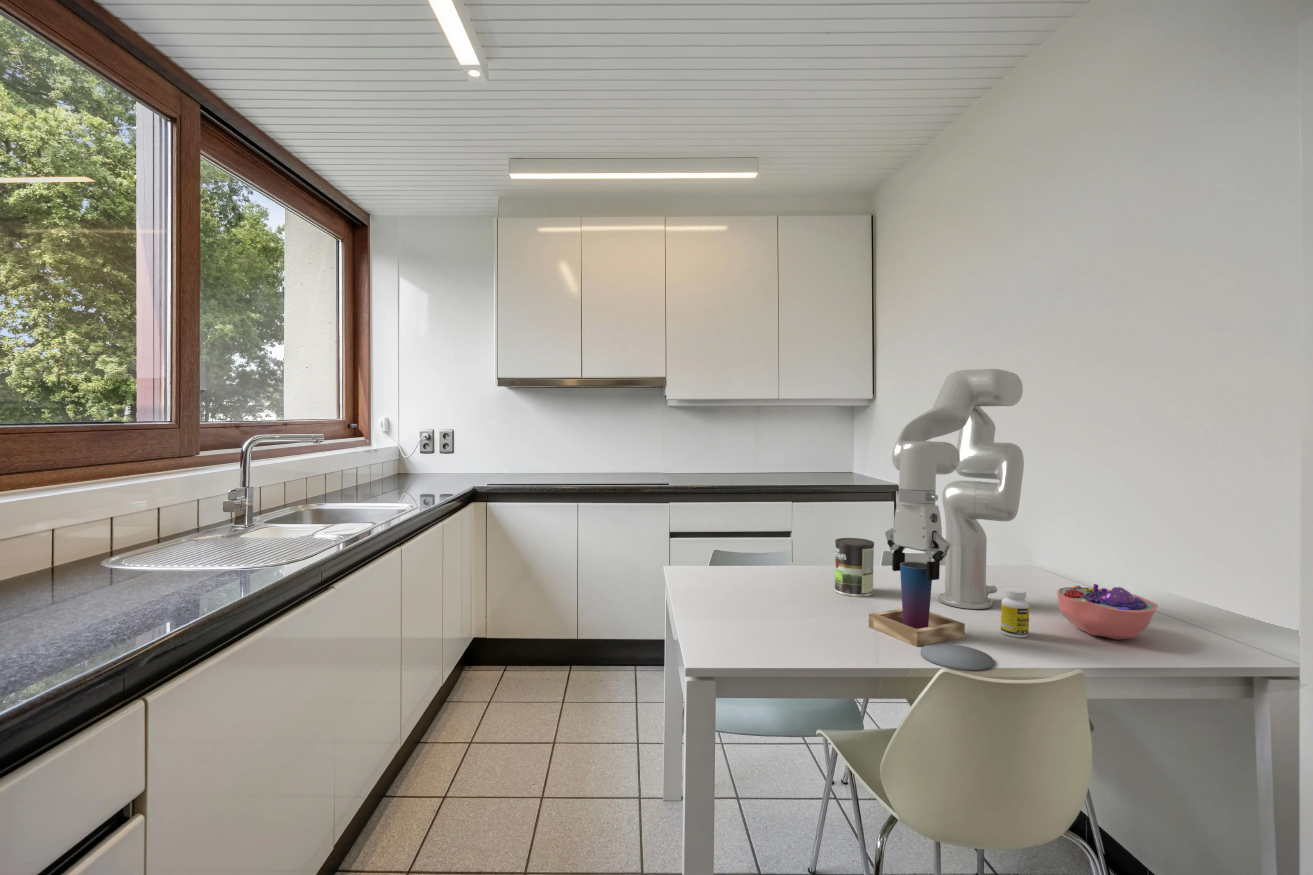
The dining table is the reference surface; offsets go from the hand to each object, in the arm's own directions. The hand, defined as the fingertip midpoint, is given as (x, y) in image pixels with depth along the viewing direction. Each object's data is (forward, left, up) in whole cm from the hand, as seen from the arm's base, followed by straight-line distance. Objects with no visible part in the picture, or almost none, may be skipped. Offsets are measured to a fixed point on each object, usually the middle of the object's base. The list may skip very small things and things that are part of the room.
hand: (915, 574), depth 142 cm
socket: (-1, 0, -13) cm, 13 cm away
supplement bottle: (-20, +10, -13) cm, 26 cm away
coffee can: (-12, -32, -13) cm, 37 cm away
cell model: (-38, +18, -13) cm, 44 cm away
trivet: (+4, +15, -13) cm, 20 cm away
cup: (-1, 0, -13) cm, 13 cm away
